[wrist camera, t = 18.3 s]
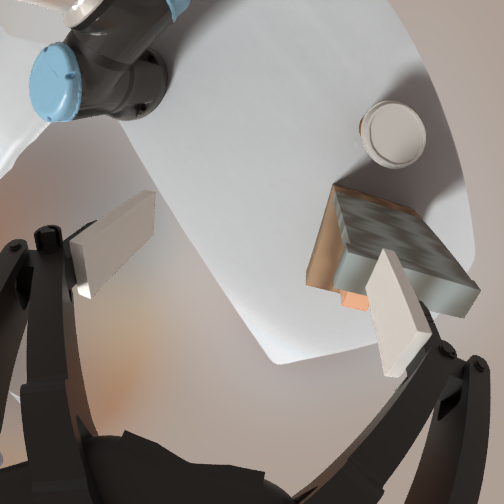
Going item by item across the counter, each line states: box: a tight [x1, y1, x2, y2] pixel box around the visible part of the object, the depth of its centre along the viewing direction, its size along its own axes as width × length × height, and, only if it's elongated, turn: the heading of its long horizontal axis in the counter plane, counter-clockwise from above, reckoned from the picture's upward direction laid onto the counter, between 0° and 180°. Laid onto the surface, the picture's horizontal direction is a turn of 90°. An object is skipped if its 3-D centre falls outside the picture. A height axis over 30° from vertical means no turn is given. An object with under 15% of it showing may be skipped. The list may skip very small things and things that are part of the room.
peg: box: [340, 290, 370, 311], centre depth 48 cm, size 4×4×12 cm
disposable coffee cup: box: [359, 100, 426, 169], centre depth 36 cm, size 10×10×12 cm
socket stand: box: [306, 184, 481, 318], centre depth 40 cm, size 17×18×26 cm
